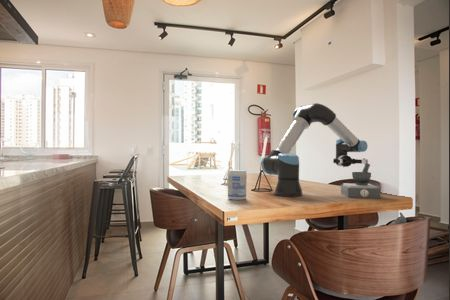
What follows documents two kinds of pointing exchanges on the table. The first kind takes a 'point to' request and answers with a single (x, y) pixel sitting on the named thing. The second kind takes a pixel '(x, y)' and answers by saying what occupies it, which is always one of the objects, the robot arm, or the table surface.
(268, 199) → the table surface
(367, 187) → the kitchen scale
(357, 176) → the mortar and pestle
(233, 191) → the supplement tub
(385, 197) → the table surface
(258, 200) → the table surface
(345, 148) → the robot arm
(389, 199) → the table surface
